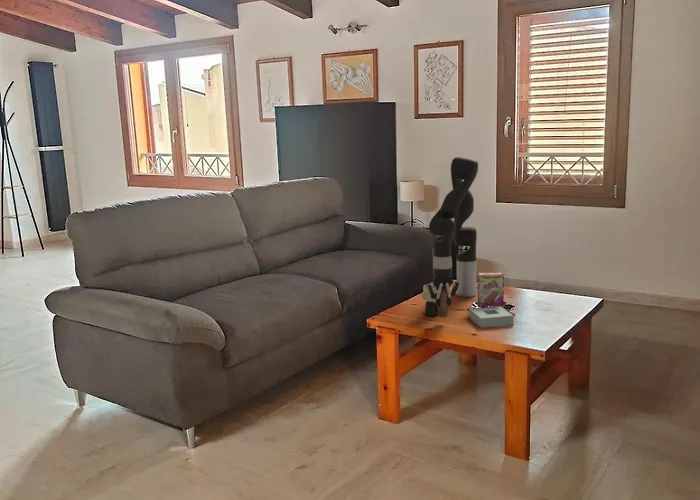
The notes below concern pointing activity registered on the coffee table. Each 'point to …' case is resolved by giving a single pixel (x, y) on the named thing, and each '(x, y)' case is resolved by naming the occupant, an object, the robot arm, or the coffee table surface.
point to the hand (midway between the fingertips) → (443, 306)
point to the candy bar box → (490, 289)
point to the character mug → (429, 301)
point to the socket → (491, 316)
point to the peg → (443, 303)
